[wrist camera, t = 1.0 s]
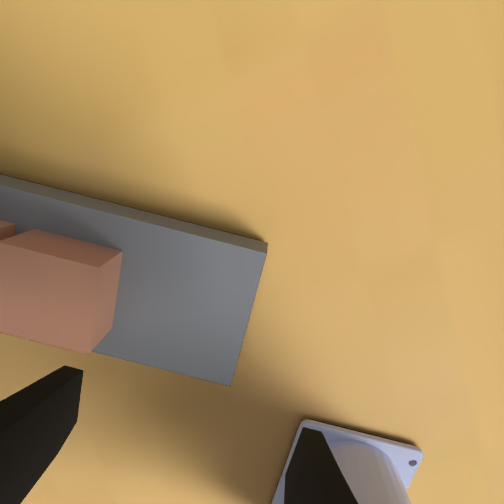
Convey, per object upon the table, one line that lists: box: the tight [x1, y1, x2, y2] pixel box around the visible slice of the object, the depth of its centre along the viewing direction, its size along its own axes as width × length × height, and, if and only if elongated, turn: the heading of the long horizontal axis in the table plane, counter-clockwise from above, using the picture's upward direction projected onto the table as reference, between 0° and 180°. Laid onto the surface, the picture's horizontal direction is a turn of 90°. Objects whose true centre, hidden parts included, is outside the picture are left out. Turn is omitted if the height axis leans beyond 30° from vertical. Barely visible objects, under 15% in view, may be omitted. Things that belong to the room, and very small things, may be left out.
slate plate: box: [0, 174, 268, 386], centre depth 19 cm, size 8×18×2 cm, turn 76°
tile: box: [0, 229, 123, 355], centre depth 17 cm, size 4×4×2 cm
